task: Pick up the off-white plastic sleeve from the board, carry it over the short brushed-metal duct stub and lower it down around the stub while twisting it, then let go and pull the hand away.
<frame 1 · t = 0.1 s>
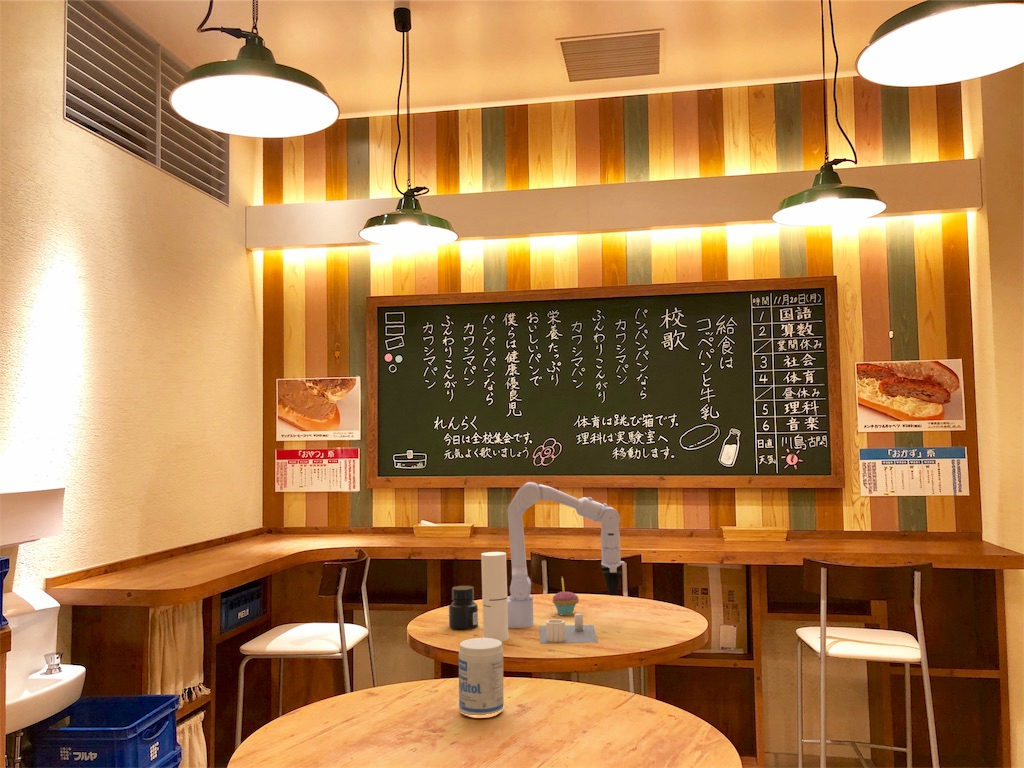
hand: (612, 592, 245), 10 cm above the table, tool pointing down, fingers open, 7 cm apart
duct board: (567, 637, 233), on the table
sleeve: (555, 639, 227), point 1 cm above the table, touching duct board
ink bottle: (463, 627, 249), on the table
cylindrical container: (496, 643, 230), on the table
supplement tub: (482, 713, 173), on the table
cupcake: (566, 614, 263), on the table
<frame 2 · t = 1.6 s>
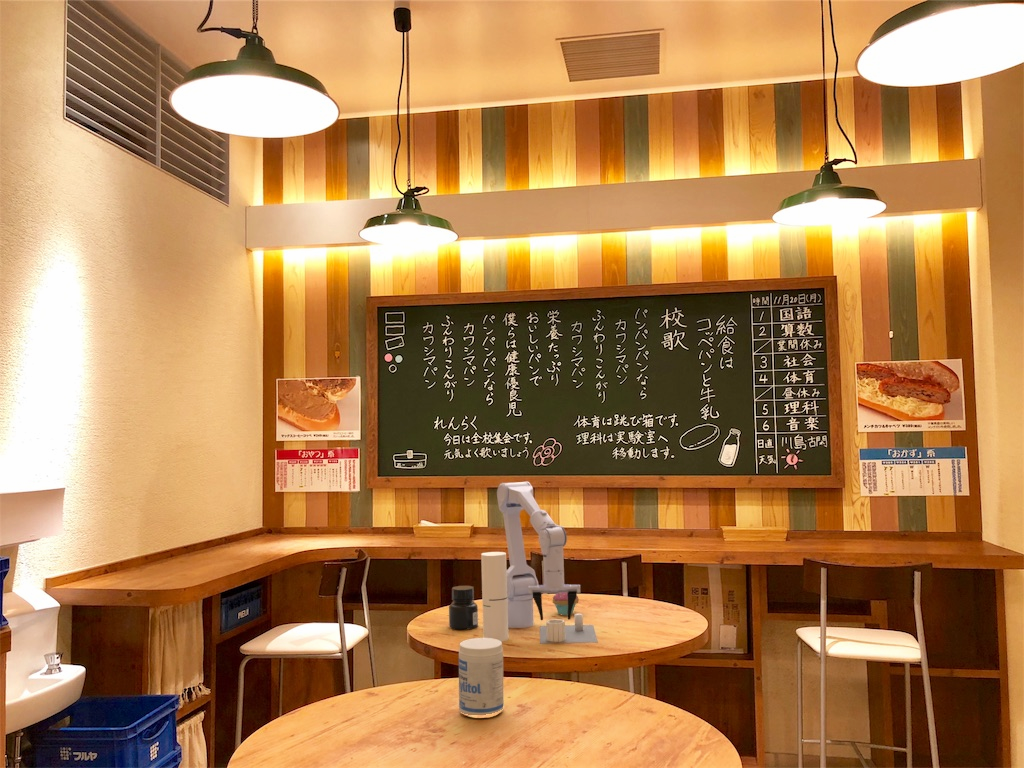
hand: (555, 619, 227), 7 cm above the table, tool pointing down, fingers open, 7 cm apart
nothing on the table moved.
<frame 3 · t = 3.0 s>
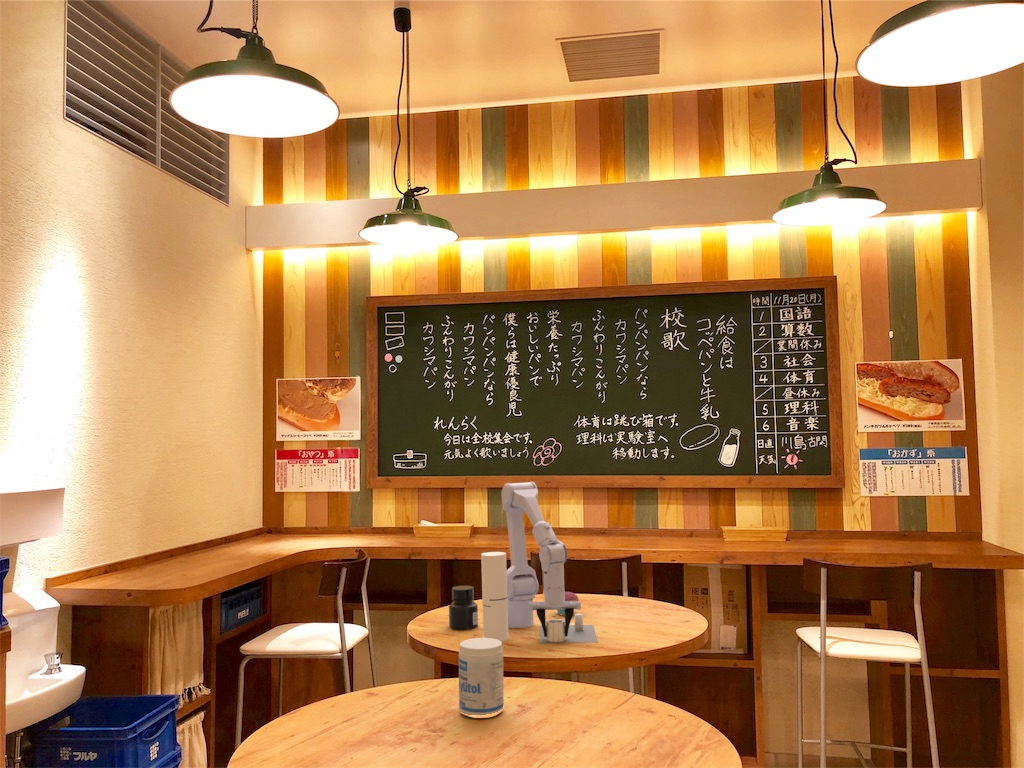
hand: (555, 635, 227), 2 cm above the table, tool pointing down, fingers closed on sleeve, 5 cm apart
sleeve: (555, 639, 227), point 1 cm above the table, touching duct board, gripper
everything else where it was.
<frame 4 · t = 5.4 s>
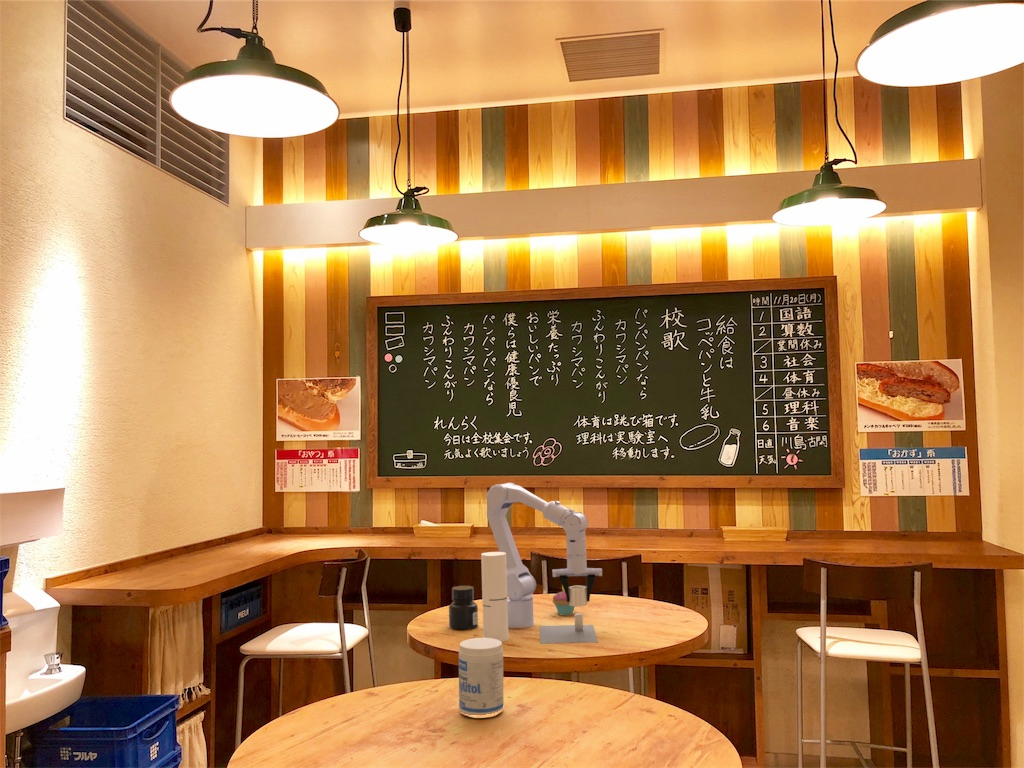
hand: (578, 601, 237), 9 cm above the table, tool pointing down, fingers closed on sleeve, 5 cm apart
sleeve: (578, 604, 237), point 8 cm above the table, touching gripper
everything else where it was.
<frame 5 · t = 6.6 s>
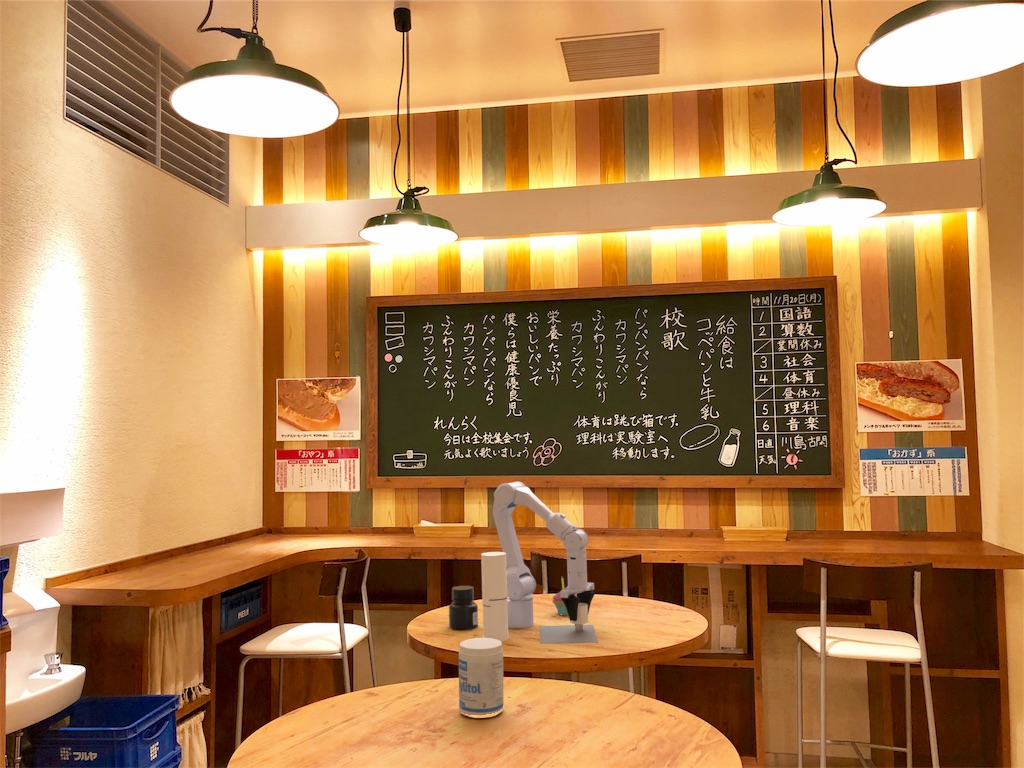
hand: (578, 618, 237), 4 cm above the table, tool pointing down, fingers closed on sleeve, 5 cm apart
sleeve: (579, 621, 237), point 3 cm above the table, touching gripper
everything else where it was.
when the fingers open (4 cm above the table, at t = 7.8 s): sleeve drops 1 cm, resting on duct board.
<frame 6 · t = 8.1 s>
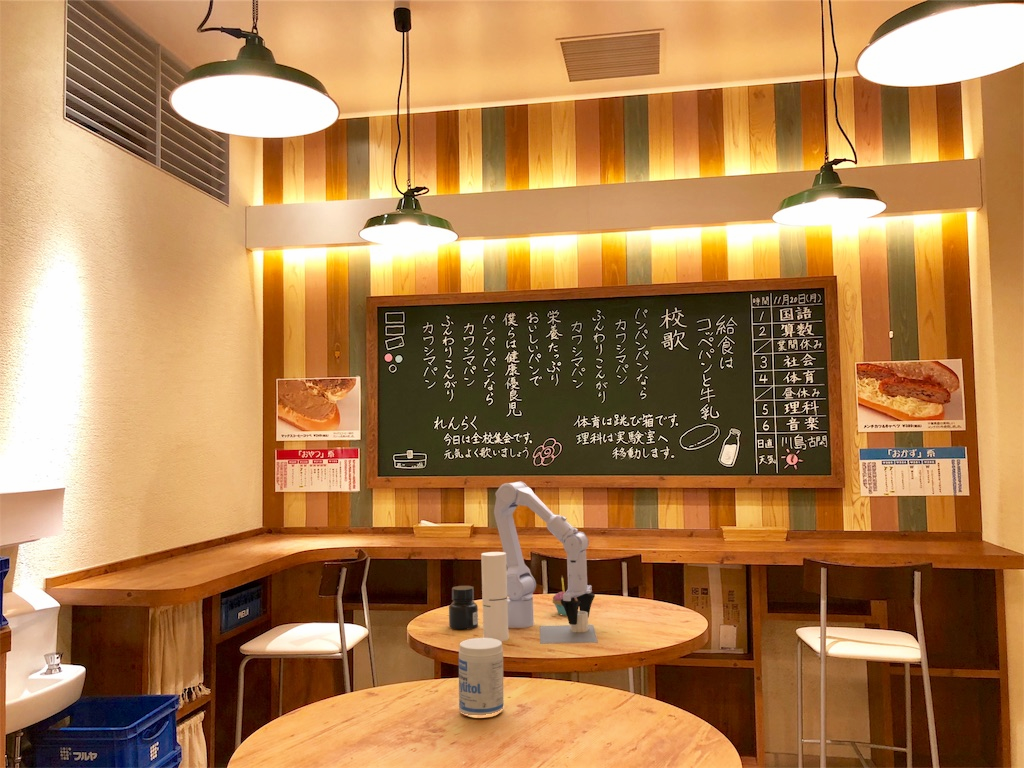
hand: (578, 621, 237), 4 cm above the table, tool pointing down, fingers open, 7 cm apart
sleeve: (579, 630, 237), point 1 cm above the table, touching duct board
everything else where it was.
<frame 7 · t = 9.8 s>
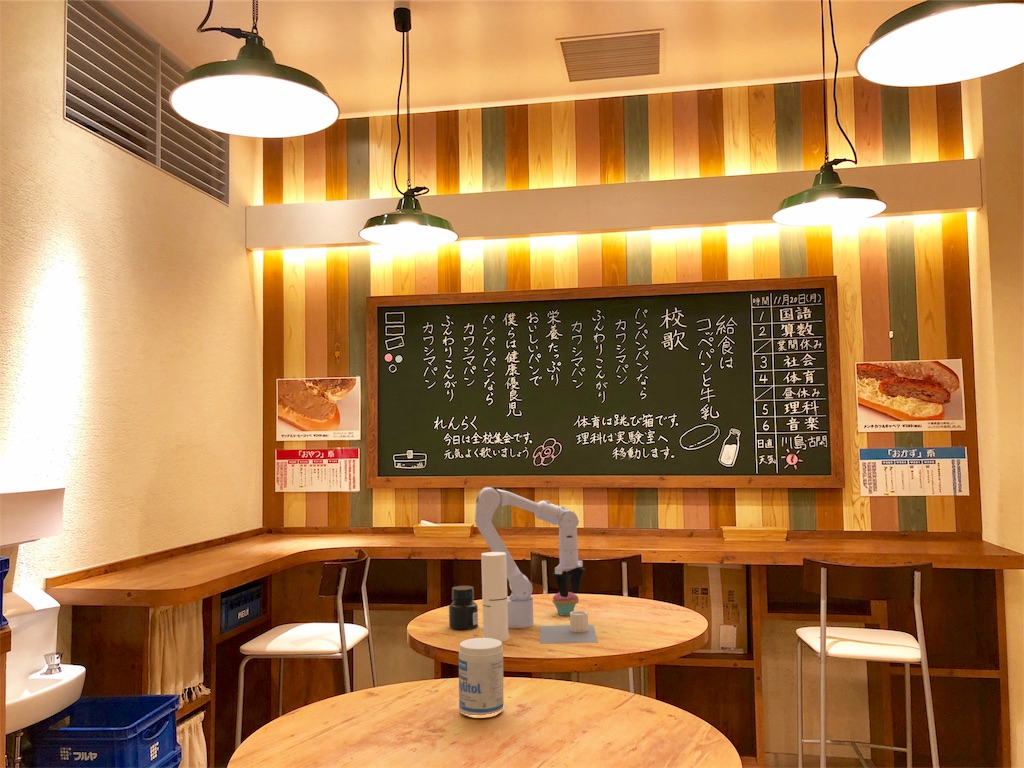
hand: (570, 594, 247), 9 cm above the table, tool pointing down, fingers open, 7 cm apart
nothing on the table moved.
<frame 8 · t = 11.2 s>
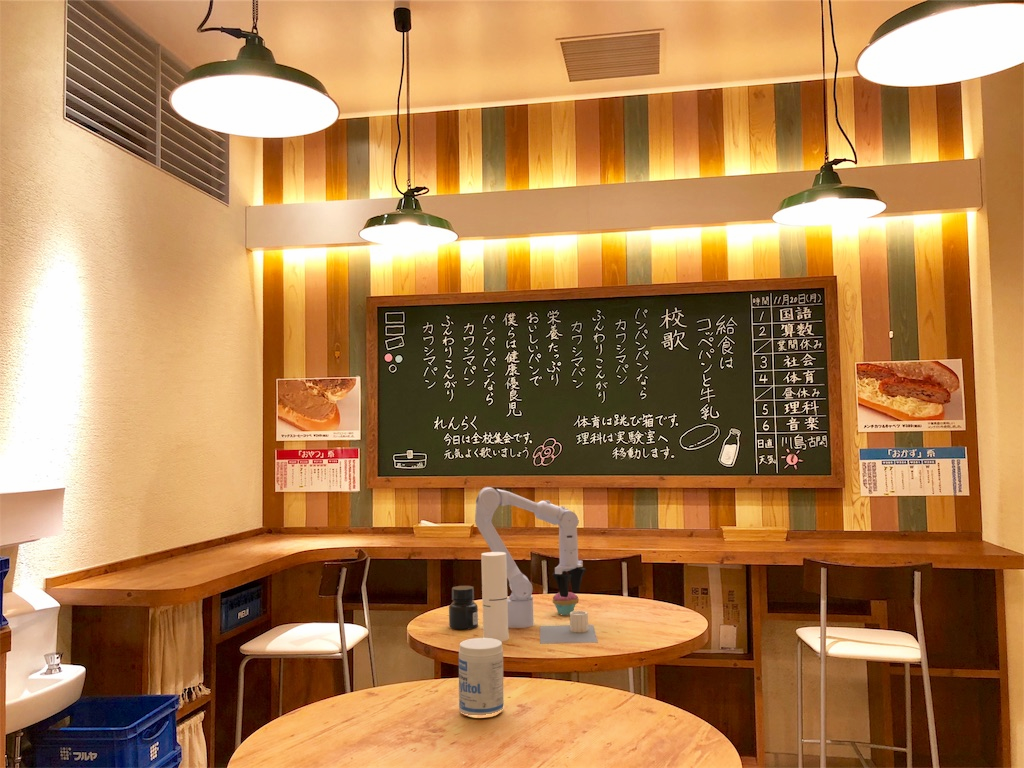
hand: (570, 594, 247), 9 cm above the table, tool pointing down, fingers open, 7 cm apart
nothing on the table moved.
at the end: sleeve 0.1 cm from the target spot on the duct board, point 1.0 cm above the duct board's base; sleeve tilted 0°; the gripper is holding nothing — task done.
